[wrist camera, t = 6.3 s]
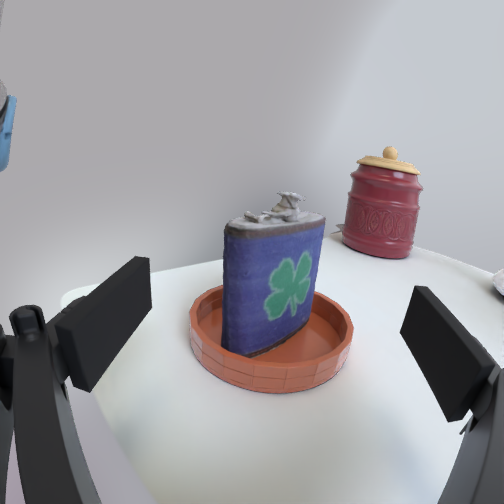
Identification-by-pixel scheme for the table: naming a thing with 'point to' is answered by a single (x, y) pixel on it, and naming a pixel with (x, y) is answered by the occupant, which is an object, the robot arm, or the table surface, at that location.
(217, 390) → the table surface
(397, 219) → the kitchen canister
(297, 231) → the flask
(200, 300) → the terracotta plant saucer
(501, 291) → the flower in vase
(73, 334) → the robot arm
